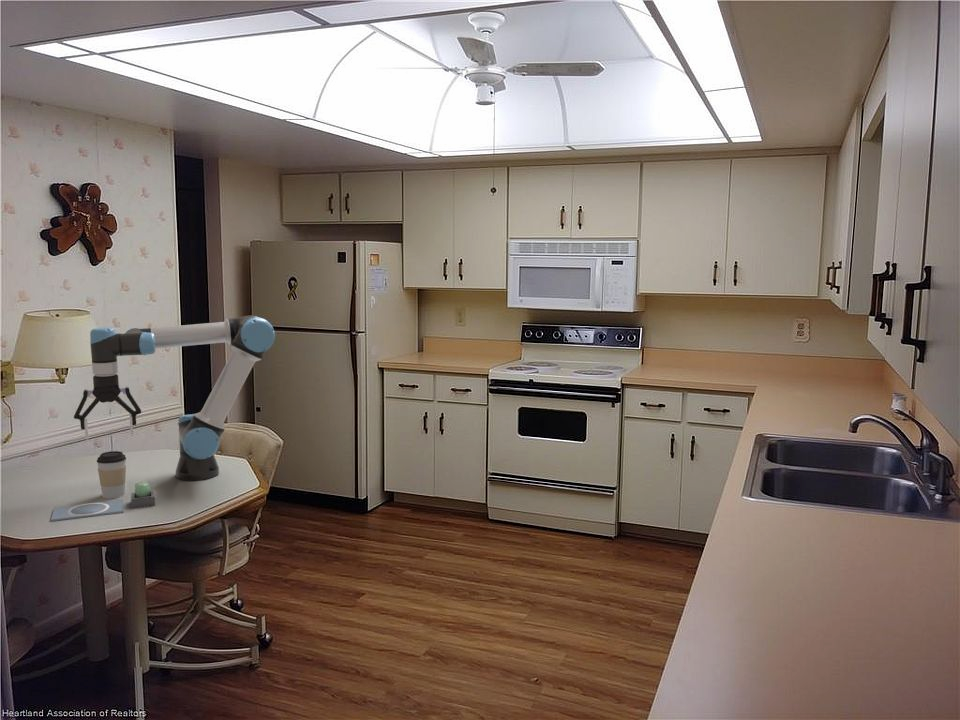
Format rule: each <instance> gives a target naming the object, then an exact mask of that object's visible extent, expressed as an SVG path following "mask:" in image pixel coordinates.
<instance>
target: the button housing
mask: <svg viewBox="0 0 960 720" xmlns="http://www.w3.org/2000/svg"><path fill="white" fill-rule="evenodd" d="M130 501H131V502H130V504H131V509H137V508H146V507H154V505H155V506H156V497H155V490H150V496H148V497H139V498H136V496H135V492H131V493H130ZM144 506H145V507H144Z"/></svg>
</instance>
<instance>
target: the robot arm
mask: <svg viewBox="0 0 960 720" xmlns="http://www.w3.org/2000/svg"><path fill="white" fill-rule="evenodd" d="M89 332H90V333H89V334H90V335H89V336H90V338H89V339H90V343H89V344H90V354H91V355H90V356H91V368H92V374H93V376H92V380H93V382H92V383H93V390H88V389H86V388H85V389H84V390H83V392H82V395H83V396H82V399H81V400H80V402H79V405H78V407H77V409H76V410H75V413H74V415H73V419H75V420H79V422H80V429H81V430H84V437H85V438H84V439H85V440H89V425H88V418H87V416H89V414H90V413H91V412H92V410H93V409H94V408H95V407H96V405H98V404H99V402H100V403H102V404H103V403H113V402H114V401H115V402H116V403H118V404H119V405H120V406H121V407H122V408H123V409H124V410H125V411H126V412H128V413H129V427H130V428H129V429H130V436H134V428H133V427H134V426H136V425H137V415H140V414H142V409H141V408H140V406H139V405H138V403H137V401H136V400H135V399H134V397H133V395H132V394H131V390H130V387H129V386H125V387H123V388H120V384H119V375H118V374H117V373H119V370H118V357H123V356H124V357H126V356H147V355H154V354H155V353H156V349H165V348H167V349H168V348H177V347H188V346H189V347H190V346H197V345H198V346H199V345H210V344H221V343H226V344H228V345H229V346H231V350H232V351H231V354H230V355H229V358H228V359H227V360H226V363H225V365H224V367H223V369H222V371H221V373H220V374H219V376H218V378H217V380H216V382H215V384H214V386H213V388H212V390H211V392H210V393H209V395H208V397H207V399H206V401H205V403H204V404H203V407H202V409H201V410H200V411H199V412H197V413H192V414H183V415H181V416H179V417H178V422H177V426H178V439H179V441H178V443H179V459H178V462H177V466H176V469H175V478H176V479H178V480H182V481H203V480H207V479H212V478H214V477H217V476H218V475H219V473H220V467H219V464H218V461H217V459H216V456H215V454H216V452H217V451H218V449H219V446H220V443H221V441H220V440H221V437H222V435H223V433H224V432H225V430H226V425H225V420H226V419H227V416H228V414H229V412H230V411H231V409H232V407H233V405H234V403H235V402H236V400H237V397H238V396H239V394H240V392H241V390H242V388H243V386H244V384H245V382H246V380H247V378H248V376H249V374H250V373H251V372H252V369H253V366H254V365H255V363H256V362H259V361H262V359H263V358H264V355H265V353H266V351H267V350H269V349H270V348H271V347H272V346H273V344H274V342H275V340H276V338H275V337H276V332H275V329H274V327H273V325H272V323H270V322H269V321H268V320H267V319H265V318H262V317H260V316H258V315H244V316H239V317H233V318H225V320H224V321H218V322H207V323H206V322H204V323H195V324H185V325H182V324H181V325H180V324H179V325H169V326H158V327H150V328H149V327H147V328H145V327H144V328H138V327H136V328H135V327H134V328H130V329H128V330H126V332H124V333H116V332H117V331H116V330H115V328H114V327H96V328H92V329H91V331H89ZM121 393H122V394H123V395H126V398H127V399H128V401H129V402H130V403H131V405H132V406H133V408H134V409H133V408H132V407H131V406H129V405H128V404H127V403H126V402H125V401H124V400H123V399H122V398H121V397H120V396H119V395H120V394H121ZM91 395H93V396H94V398H95V399H93V401H92V402H91V403H90V404H89V405H88V407H87V408H86V409H85V410H84V411H83V413H82V414H81V412H82V410H83V407H84V405H85V403H86V402H87V398H89V397H90V396H91ZM80 414H81V415H80Z"/></svg>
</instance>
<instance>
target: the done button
mask: <svg viewBox="0 0 960 720" xmlns="http://www.w3.org/2000/svg"><path fill="white" fill-rule="evenodd" d="M150 491H151V485H150V482H147V481H142V482H138V483H136V484H134V493H135V496H136V498H139V497H148V496H150Z"/></svg>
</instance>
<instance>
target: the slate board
mask: <svg viewBox="0 0 960 720" xmlns="http://www.w3.org/2000/svg"><path fill="white" fill-rule="evenodd" d="M123 513H124V499H118V500H117V499H116V500H109V501H108V500H107V501H101V502H100V501H99V502H90V503H82V504H73V505H72V504H71V505H64V506H56V507H54V508H53V512H52V515H51V518H50V522H57V521H65V520H74V519H81V518H82V519H83V518H91V517H100V516H108V515H114V514H123Z"/></svg>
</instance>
